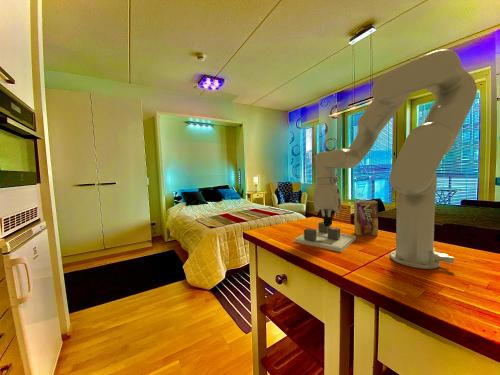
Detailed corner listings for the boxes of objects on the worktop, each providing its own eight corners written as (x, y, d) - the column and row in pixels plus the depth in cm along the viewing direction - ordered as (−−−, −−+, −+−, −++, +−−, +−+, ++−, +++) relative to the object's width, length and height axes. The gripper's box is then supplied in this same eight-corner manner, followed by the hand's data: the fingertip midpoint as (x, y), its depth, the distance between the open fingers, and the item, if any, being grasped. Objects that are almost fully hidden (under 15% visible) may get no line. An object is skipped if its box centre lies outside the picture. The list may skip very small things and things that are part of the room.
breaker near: (316, 239, 88) (316, 229, 87) (313, 241, 86) (313, 231, 85) (307, 237, 90) (307, 228, 90) (304, 239, 88) (303, 229, 88)
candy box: (374, 233, 99) (374, 200, 98) (378, 235, 95) (378, 201, 94) (353, 232, 101) (354, 200, 100) (356, 235, 97) (356, 201, 96)
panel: (355, 239, 91) (355, 235, 91) (341, 252, 78) (341, 247, 78) (313, 232, 104) (313, 228, 104) (294, 242, 91) (294, 238, 90)
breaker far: (329, 231, 98) (329, 222, 98) (327, 232, 96) (327, 224, 96) (321, 229, 101) (321, 221, 101) (318, 231, 99) (318, 222, 98)
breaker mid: (340, 238, 88) (340, 227, 88) (337, 239, 86) (337, 229, 86) (330, 236, 91) (330, 226, 91) (327, 238, 89) (327, 228, 88)
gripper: (347, 180, 87) (349, 225, 87) (312, 182, 97) (315, 222, 97) (341, 181, 81) (343, 229, 82) (305, 183, 91) (307, 226, 92)
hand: (328, 225), depth 90 cm, fingers closed
